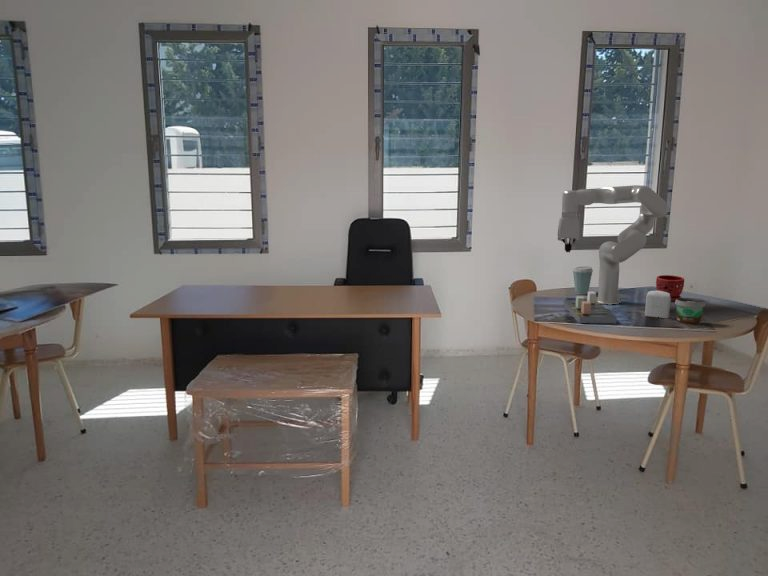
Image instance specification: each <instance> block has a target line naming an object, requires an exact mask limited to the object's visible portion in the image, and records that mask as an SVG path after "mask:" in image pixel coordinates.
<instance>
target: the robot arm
mask: <svg viewBox="0 0 768 576" xmlns="http://www.w3.org/2000/svg"><path fill="white" fill-rule="evenodd" d="M561 201H562V202H561V203H562V204H561V217H560V218H559V221H558V226H557V227H558V228H557V241H561V242H562V243H564V251H565V253H571V251H572V245H573V244H574V243H575V242H577V241H580V234H581V233H580V232H581V227H580V226H581V225H580V219H579V217H581V212H579V211H578V210H579V209H578V208H579V205H581V206H582V205H583V206H590V205H593V204H605V205H618V204H631V203H633V204H634V203H640V207H639V216H638V218H637V219H636V220H635V221H634V222H633V223H632V224H630V225H629V226H628V227H626V228H625V229H623V230H622V231H620V233H619V234H618V235H617V242H615V241H605V242H603V243H602V244H601V245H600V246H599V250H598V258H599V275H598V289H597V290H598V291H597V292H598V293H597V297H596V301H598V302H599V303H600V304H601V305H606V304H608V305H611V306H613V305H612V304H616V305H620V304H621V303H622V301H621V300H628V298H629V297H628V295H623V294H620V293H619V282H620V279H619V278H620V263H623V262H626V261H627V260H629V259H630V258H631V257H633V256H635V254H636V253H638V252H639V251H641V250H642V249H643V248H644V247H645V245H646V243H647V236H646V235H648V234H649V233H650V232H651V231H652V230H653V228H654V225H655V220H656V218H657V219H659V218H663V217H665V216H666V215H667V214H668V212H669V205H668V203H667V202H666V201H665V199H664V198H662V197H661V196H660V195H659V194H658V193H657V192H655V190H653V189H652V188H651V187H649V186H647V185H639V184H638V185H637V184H636V185H634V184H633V185H622V186H621V185H619V186H607V187H597V188H583V189H582V188H581V189H577V190H564V191H563V192H562V200H561ZM568 239H569V240H568ZM619 303H620V304H619Z"/></svg>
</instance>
